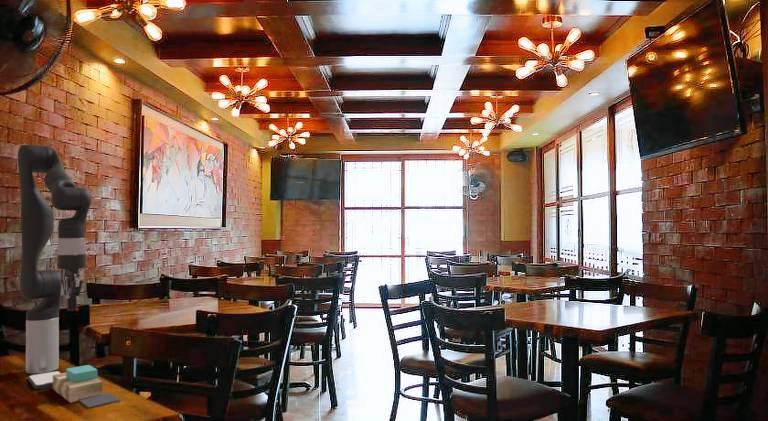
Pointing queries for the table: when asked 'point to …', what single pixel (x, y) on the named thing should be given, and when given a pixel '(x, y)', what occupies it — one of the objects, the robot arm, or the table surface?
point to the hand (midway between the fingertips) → (71, 310)
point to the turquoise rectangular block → (81, 373)
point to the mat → (99, 400)
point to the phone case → (42, 380)
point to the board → (76, 388)
